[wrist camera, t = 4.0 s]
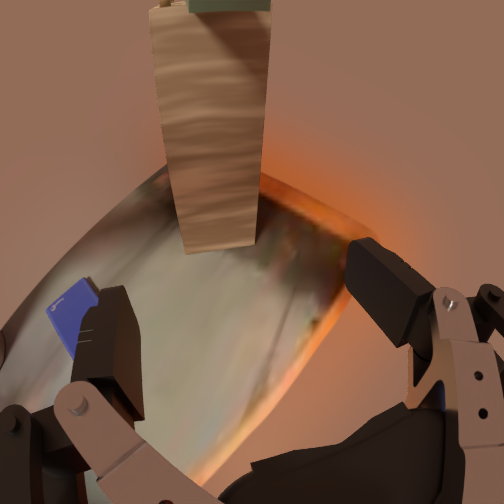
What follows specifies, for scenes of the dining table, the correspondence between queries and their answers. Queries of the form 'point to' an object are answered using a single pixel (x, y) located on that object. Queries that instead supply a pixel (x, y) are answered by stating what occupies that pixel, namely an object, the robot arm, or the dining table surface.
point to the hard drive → (71, 312)
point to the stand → (212, 118)
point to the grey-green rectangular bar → (227, 5)
